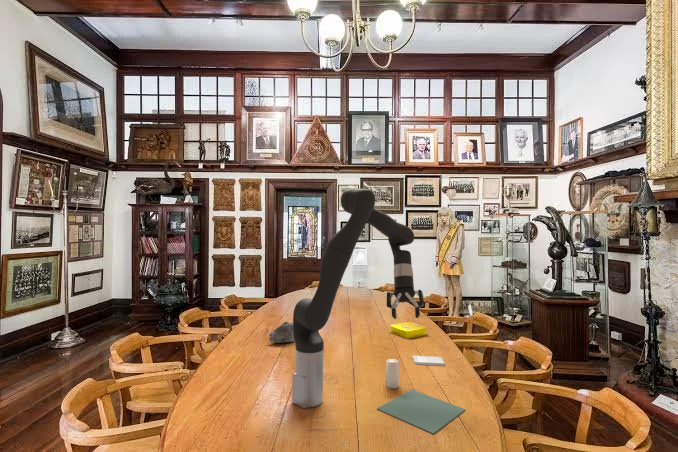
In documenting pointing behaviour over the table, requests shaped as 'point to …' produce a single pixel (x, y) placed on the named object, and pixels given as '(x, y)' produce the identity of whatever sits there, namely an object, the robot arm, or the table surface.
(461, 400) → the table surface
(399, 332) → the element tile
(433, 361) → the hard drive
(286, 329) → the mineral rock
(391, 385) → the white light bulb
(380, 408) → the felt mat
